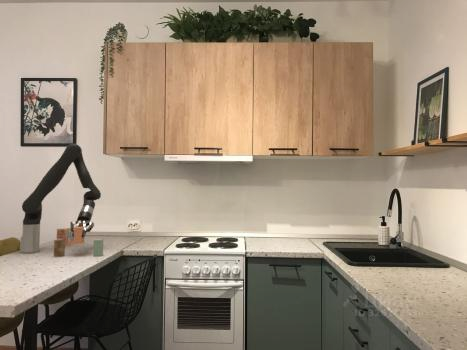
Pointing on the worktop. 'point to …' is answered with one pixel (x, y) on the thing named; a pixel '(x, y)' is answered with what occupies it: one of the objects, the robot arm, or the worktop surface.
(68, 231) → the stack of blocks
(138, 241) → the worktop surface
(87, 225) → the robot arm
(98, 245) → the sage green block
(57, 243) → the walnut block
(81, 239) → the terracotta block
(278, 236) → the worktop surface
